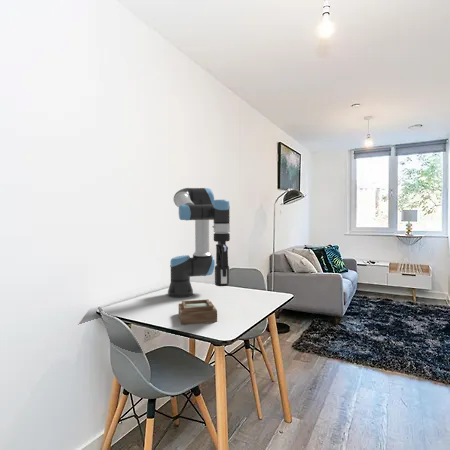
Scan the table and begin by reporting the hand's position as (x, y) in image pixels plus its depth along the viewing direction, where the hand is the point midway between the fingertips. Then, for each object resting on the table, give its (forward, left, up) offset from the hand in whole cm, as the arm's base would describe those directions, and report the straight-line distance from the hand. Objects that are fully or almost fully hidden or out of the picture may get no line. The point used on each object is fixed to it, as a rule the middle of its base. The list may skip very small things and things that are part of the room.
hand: (222, 281), depth 148 cm
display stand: (-2, -12, -17) cm, 20 cm away
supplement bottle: (0, 0, -2) cm, 2 cm away
